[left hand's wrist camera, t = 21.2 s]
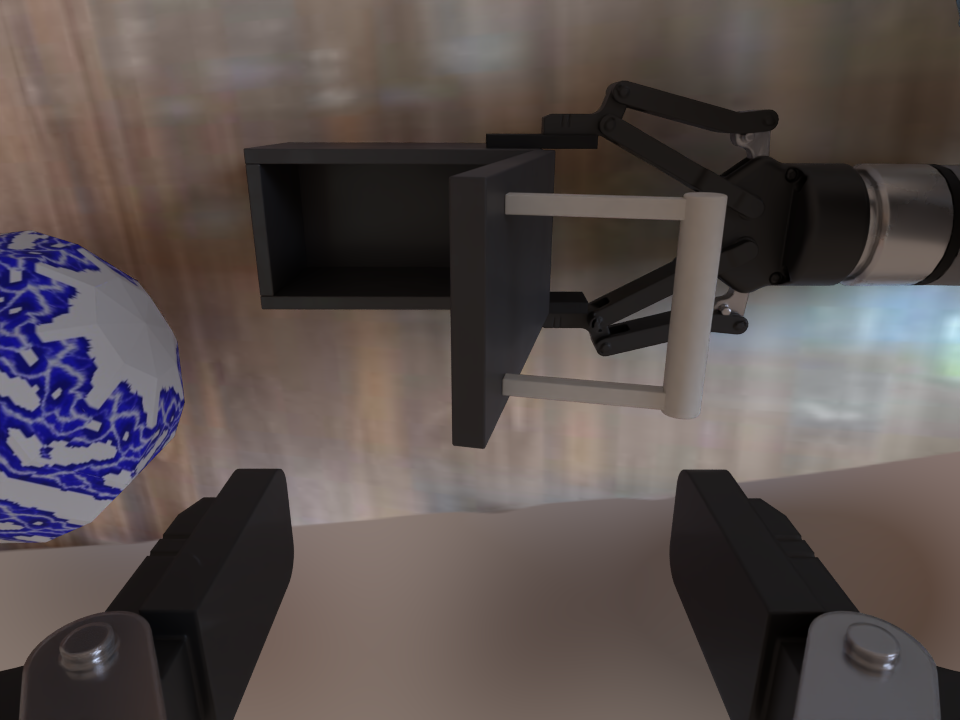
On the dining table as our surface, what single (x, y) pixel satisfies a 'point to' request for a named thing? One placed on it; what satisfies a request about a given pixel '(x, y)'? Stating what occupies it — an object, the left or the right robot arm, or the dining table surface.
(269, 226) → the chest
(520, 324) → the lid
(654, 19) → the dining table surface
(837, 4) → the dining table surface
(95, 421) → the ornament
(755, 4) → the dining table surface
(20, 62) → the dining table surface
